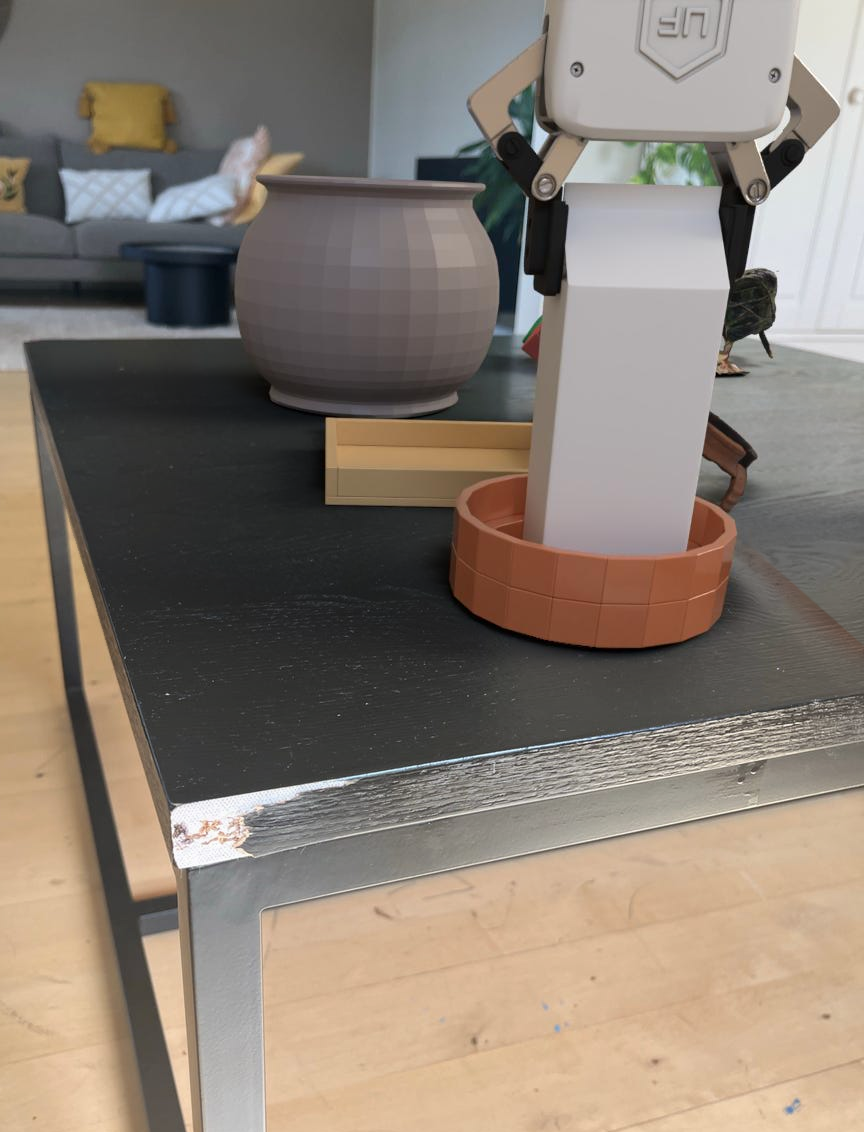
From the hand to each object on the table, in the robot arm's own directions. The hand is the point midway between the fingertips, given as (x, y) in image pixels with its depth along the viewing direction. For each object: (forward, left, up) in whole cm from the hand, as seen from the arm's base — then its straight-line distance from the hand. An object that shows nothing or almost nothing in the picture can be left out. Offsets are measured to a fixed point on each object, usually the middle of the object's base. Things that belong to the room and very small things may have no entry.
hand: (630, 291), depth 47 cm
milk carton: (0, 0, -15) cm, 15 cm away
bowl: (0, 0, -16) cm, 16 cm away
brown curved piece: (-10, -18, -16) cm, 26 cm away
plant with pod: (-34, -71, -16) cm, 80 cm away
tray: (+5, -23, -16) cm, 28 cm away
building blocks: (-15, -71, -16) cm, 74 cm away
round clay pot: (+10, -50, -16) cm, 53 cm away
